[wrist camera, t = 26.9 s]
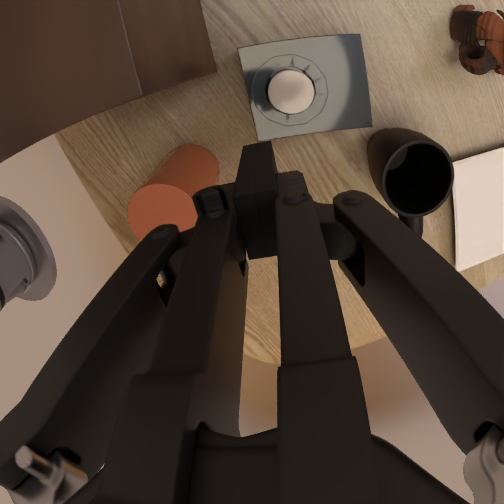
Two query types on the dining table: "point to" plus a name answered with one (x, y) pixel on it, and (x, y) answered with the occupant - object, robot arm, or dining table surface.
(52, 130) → the stand
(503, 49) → the pottery mug
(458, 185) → the plate
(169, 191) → the orange cylinder
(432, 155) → the mug
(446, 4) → the dining table surface
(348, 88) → the gray button box
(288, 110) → the round white push button
